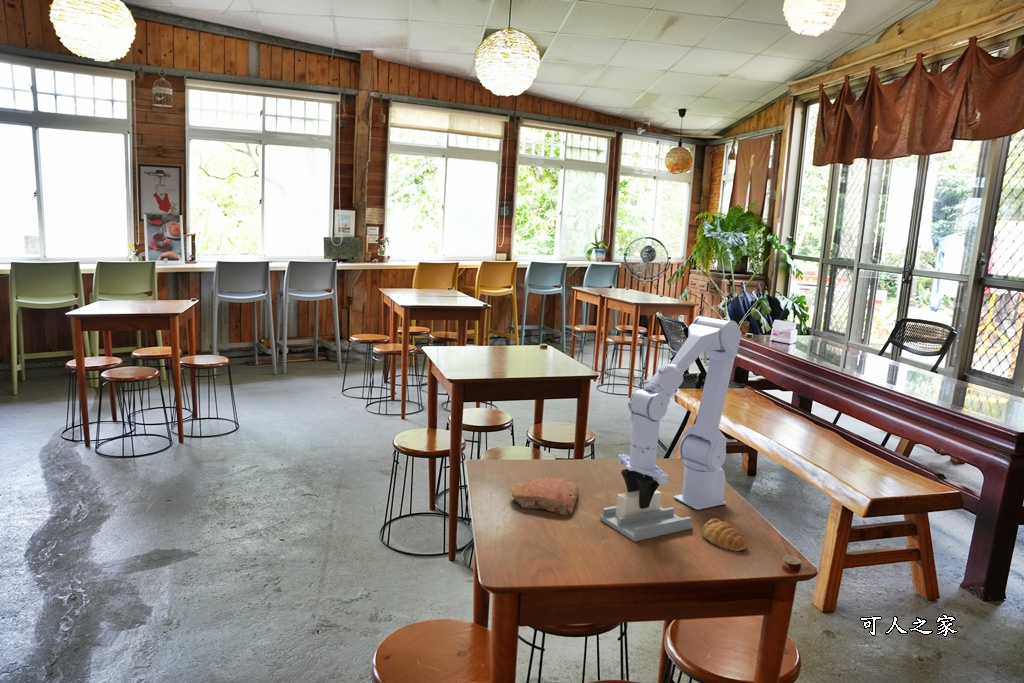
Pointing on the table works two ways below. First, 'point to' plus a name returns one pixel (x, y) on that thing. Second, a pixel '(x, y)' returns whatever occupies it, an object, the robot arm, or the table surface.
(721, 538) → the pastry
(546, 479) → the ceramic shard
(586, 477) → the table surface
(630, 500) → the white rectangular block
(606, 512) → the grey ridged tray
